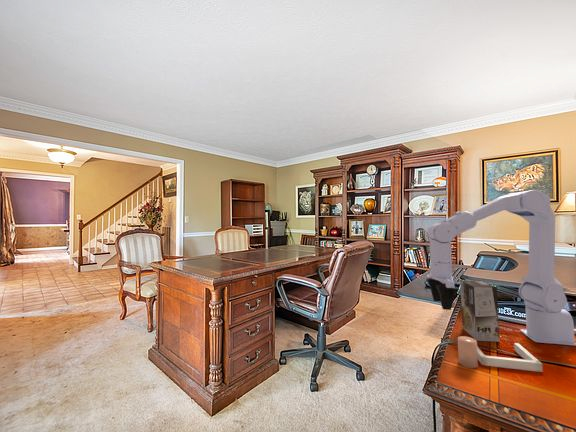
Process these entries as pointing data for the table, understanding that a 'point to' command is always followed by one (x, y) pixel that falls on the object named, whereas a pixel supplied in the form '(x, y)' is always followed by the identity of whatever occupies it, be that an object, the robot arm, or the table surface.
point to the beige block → (467, 352)
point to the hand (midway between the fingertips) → (441, 305)
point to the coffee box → (480, 310)
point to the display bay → (512, 360)
